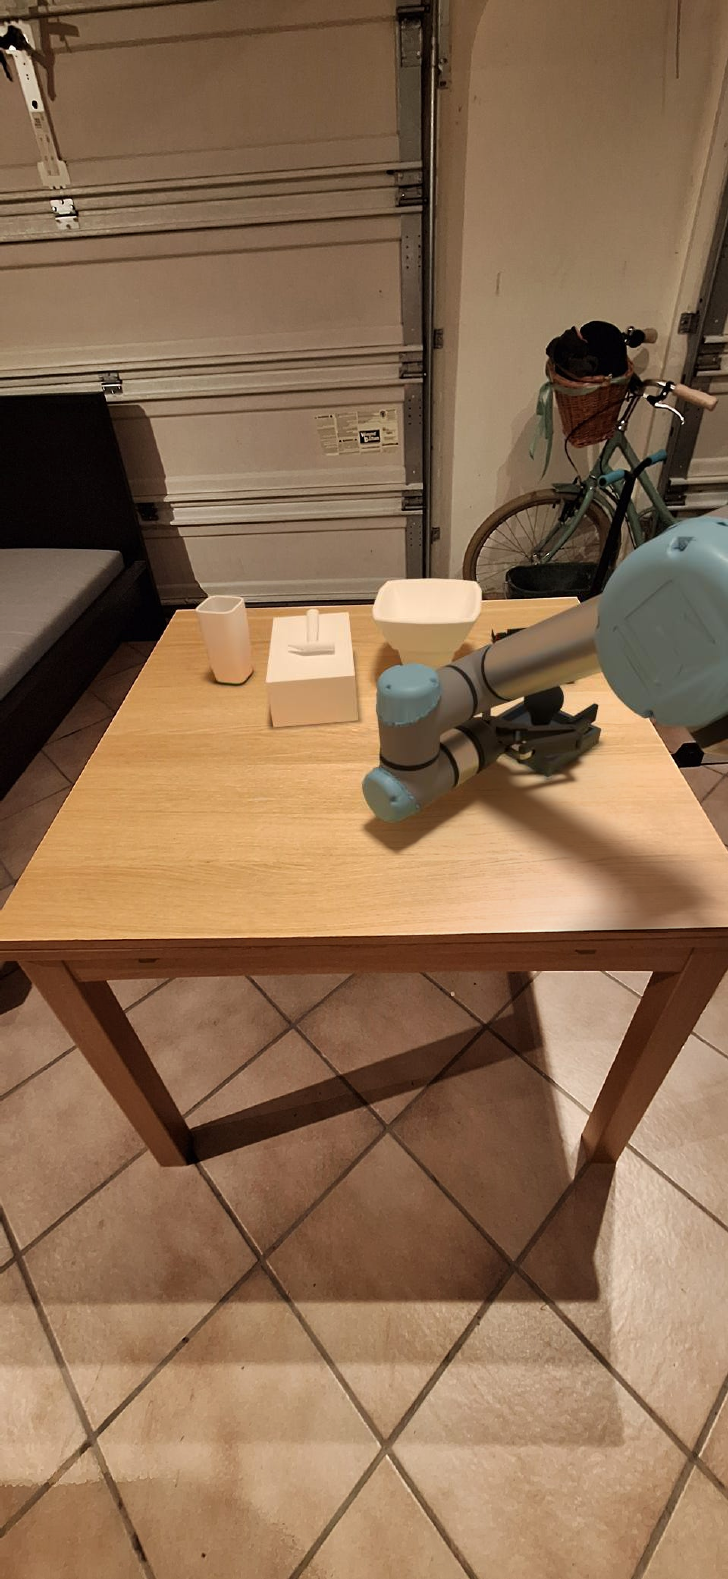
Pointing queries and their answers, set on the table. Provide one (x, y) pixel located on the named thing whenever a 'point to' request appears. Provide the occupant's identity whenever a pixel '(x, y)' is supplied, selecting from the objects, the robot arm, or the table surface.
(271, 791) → the table surface
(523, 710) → the slate tray
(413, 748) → the robot arm
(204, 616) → the cup
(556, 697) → the light bulb
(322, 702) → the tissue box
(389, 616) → the bowl
